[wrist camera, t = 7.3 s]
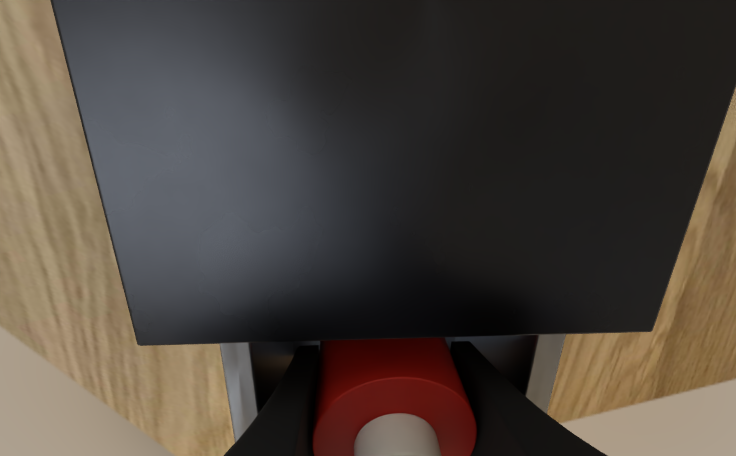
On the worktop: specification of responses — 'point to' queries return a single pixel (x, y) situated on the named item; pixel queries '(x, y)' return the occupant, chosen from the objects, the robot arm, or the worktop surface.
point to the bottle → (391, 400)
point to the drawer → (506, 353)
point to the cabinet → (397, 160)
